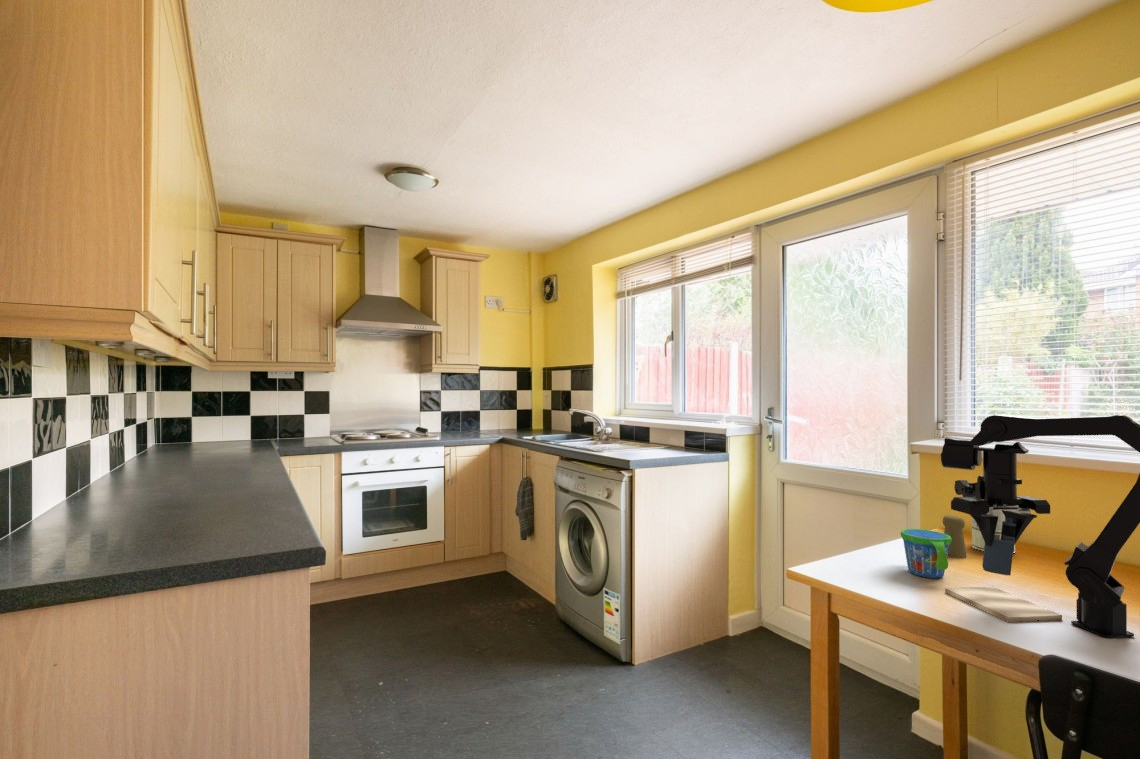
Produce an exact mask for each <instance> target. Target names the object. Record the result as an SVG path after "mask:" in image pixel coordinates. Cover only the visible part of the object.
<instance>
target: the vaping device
mask: <svg viewBox="0 0 1140 759" xmlns="http://www.w3.org/2000/svg"><path fill="white" fill-rule="evenodd" d="M1013 526H1014V527H1013ZM1015 527H1016V523H1013V519H1012V518H1007V521H1003V522H1002V531H1001V539H999V538H1000V535H999V534H995V536H994V540H993V543H992V546H988V545H986V544H985V546H984V552H983V556H982V569H983V570H984V571H985V572H988V573H992V574H997V575H1002V576H1011V573H1012V566H1013V555H1014V554H1013V552H1014V544H1015V542H1014V541H1015V532H1016V528H1015ZM1015 545H1016V544H1015Z"/></svg>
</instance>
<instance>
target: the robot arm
mask: <svg viewBox="0 0 1140 759" xmlns="http://www.w3.org/2000/svg"><path fill="white" fill-rule="evenodd" d="M1056 436H1057V437H1060V436H1062V437H1063V436H1064V437H1065V436H1068V437H1070V436H1071V437H1072V436H1073V437H1074V436H1078V437H1079V436H1115V437H1116V438H1118V439H1119V440H1121V441H1122V442H1124V443H1126V444H1127V445H1128V446H1129V447H1131V448H1132V449H1134V450H1135V451H1137V452H1138V453H1140V424H1139V423H1138V422H1136V421H1134V419H1133V418H1131V416H1128V415H1125V414H1114V415H1107V416H1106V415H1104V416H1076V417H1075V416H1073V417H1047V418H1046V417H1045V418H1043V417H1042V418H1038V417H1028V416H1022V415H1021V416H1020V415H1010V414H994V415H990V416H987V417H985V418H984V419H983V420H982V421H981V423H980V431H978V433H977V434H976V435H975V436H973V437H972V438H971V439H960V438H959V439H957V438H955V437H954V438H953V437H947V438H944V443H943V445H942V451H941V452H940V462H941V465H942V467H943V468H947V469H948V468H949V469H958V470H968V471H975V469H976V468H977V467H980V466H981V465H982V467H983V468H982V472H983V475H978V476H977V480H976V482H969V481H968V480H967V479H958V480H955V481H954V491H955V495H957V496H954V497H953V498H952V499H951V500H950V510H953V511H956V512H960V513H962V514H966V515H969V516H970V517H971V518H972V517H973V518H974V520H975V521H976V523H977V525H978V527H979V529H980V532H981V534H982V537H983V539H984V541H985V544H986V545H988V546H992V543H993V540H994V536H995V531H996V526H997V522H998V516H995V515H993V510H1001V511H1002V512H1003V514H1004V515H1005V517H1006V520H1007V518H1012V519H1013V523H1016V527H1015V528H1016V532H1015V541H1014V542H1015V544H1014V545H1015V546H1016V545H1017V544H1016V543H1017V542H1018V541H1019V539H1020V538H1021V536H1022V535H1023V532H1025V530H1026V528H1027V527H1029V525H1030V523H1031V522H1032V521H1033V520H1034V519H1037V517H1038V515H1036V514H1039V515H1048V514H1049V515H1050V514H1051V504H1050V503H1049V501H1048V500H1047V499H1042V498H1039V497H1033V496H1028V495H1018V494H1017V493H1018V492H1017V491H1018V487H1017V486H1018V485H1023V479H1022V478H1018V475H1017V473H1018V472H1017V471H1018V470H1017V469H1018V467H1017V464H1018V463H1017V462H1018V460H1017V458H1018V457H1017V454H1019V455H1026V454H1028V453H1030V452H1029V451H1030V450H1029V449H1028V448H1026V447H1025V446H1024V445H1022V444H1021V442H1020V441H1018V440H1022V439H1027V438H1028V439H1029V438H1034V437H1056ZM1016 440H1017V441H1016ZM1010 441H1015V442H1014V443H1013V444H1002V443H1003V442H1010ZM1001 442H1002V443H1001ZM992 443H996V444H995V445H994V447H982V446H986V445H990V444H992ZM982 452H983V453H982ZM982 462H983V464H982ZM980 499H982V500H980ZM994 505H995V506H994ZM1003 509H1007V510H1003ZM1031 510H1032V511H1034V512H1035V514H1032V511H1031ZM1139 525H1140V472H1139V473H1138V476H1137V479H1136V482H1135V483H1134V485H1133V486H1132V488H1131V489H1130V491H1129V492H1128V493H1127V495H1126V496H1125V498H1124V499H1123V500H1122V502H1121V503H1120V505H1119V506H1118V507H1117V509H1116V510H1115V512H1114V513H1113V514H1112V516H1111V518H1110V519H1109V521H1108V522H1107V523H1106V524H1105V526H1104V528H1103V529H1102V531H1101V532H1100V534H1099V535H1098V536H1097V538H1096V539H1094V540H1093V541H1092V543H1089V545H1088V546H1087V545H1086V544H1084V543H1083V542H1082V541H1080V542H1078V544H1077V545H1076V546H1075V548H1074V551H1073V552H1072V555H1070V556H1069V557H1068V558H1067V559H1066V560H1065V562H1064V565H1066V566H1067V567H1066V569H1065V576H1066V579H1067V581H1068V582H1069V583H1070V584H1071V585H1072V586H1074V587H1075V588H1077V590H1078V592H1077V598H1076V602H1075V603H1076V620H1071V621H1070V622H1071V624H1072V625H1074V626H1077V627H1078V628H1081V629H1083V630H1085V631H1089V632H1091V633H1094V634H1095V635H1098V636H1100V637H1102V638H1107V639H1108V638H1109V639H1110V638H1126V637H1127V638H1128V637H1129V638H1130V637H1131V638H1132V637H1135V633H1134V632H1131V631H1128V629H1127V628H1128V626H1127V622H1128V621H1127V619H1128V618H1127V617H1128V616H1127V615H1128V614H1127V612H1128V611H1127V610H1128V609H1127V607H1128V606H1127V603H1125V602H1123V601H1122V596H1123V594H1124V592H1125V588H1126V587H1125V586H1124V585H1123V584H1122V583H1121V582H1120V581H1119V580H1117V579H1116V578H1115V577H1114V576H1113V575H1111V572H1112V571H1113V567H1114V564H1115V563H1116V559H1117V558H1118V554H1119V552H1120V551H1121V549H1123V547H1124V546H1125V544H1126V542H1127V541H1128V540H1129V539H1130V537H1131V536H1132V534H1133V533H1134V532H1135V530H1137V528H1138V526H1139ZM1013 527H1014V526H1013Z"/></svg>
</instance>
